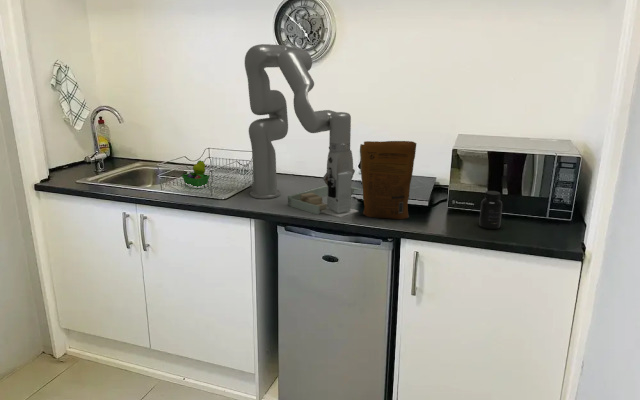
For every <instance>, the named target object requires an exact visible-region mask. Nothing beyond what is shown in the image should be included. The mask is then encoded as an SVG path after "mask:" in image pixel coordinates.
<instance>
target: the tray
mask: <svg viewBox="0 0 640 400" xmlns="http://www.w3.org/2000/svg"><path fill="white" fill-rule="evenodd" d="M361 189H362V188H358V187H354V186H351V195H352V193H353V192H354V190H361ZM327 190H328V186H327V184H326V185H323V186H319V187H315V188H312V189H308V190H305V191H301V192H297V193H293V194H288V195H287V205H288V207H292V208H294V209H298V210H302V211H305V212H307V213H311V214H314V215H320V214H321V212H320V206H317V205H313V204H310V203H307V202H303V201H300V200H301V194H306V193H314V194H316V195H318V196H320V197H322V198H324V197H327Z"/></svg>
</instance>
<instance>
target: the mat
mask: <svg viewBox="0 0 640 400" xmlns="http://www.w3.org/2000/svg"><path fill="white" fill-rule="evenodd" d="M320 213H323V214H327V215H329V216H333V217H336V218H339V219H341V218H344V217H348V216H350V215H352V214H355V213H359V210H358V209H354V208H350V211H345V212H340V213H337V212H335V211H334V210H332V209H330V208H328V207H327V209H325V210H322V211H320Z"/></svg>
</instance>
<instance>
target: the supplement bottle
mask: <svg viewBox="0 0 640 400" xmlns="http://www.w3.org/2000/svg"><path fill="white" fill-rule="evenodd" d="M479 211H480V212H479V220H478V221H479V223H478V225H479V227H481V228H483V229H486V230H497V229H499V228H500V227H501V222H502V221H501V220H502V213H503V202H502V201H501V192H499V191H496V190H487V191H485V193H484V199H482V200H481V202H480V210H479Z"/></svg>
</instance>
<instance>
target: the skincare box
mask: <svg viewBox="0 0 640 400" xmlns="http://www.w3.org/2000/svg"><path fill="white" fill-rule="evenodd" d="M332 178H333V177H332ZM352 179H353V178H352V173H351V172H349V171H348V172H344V173H341V174H338V180H336V184H335V186H334V187H336V197H335V198H332V197H329V196H328V190H327V196H326V197H327V198H326V204H327V209H328V208H330V209H332V210H334V211H335V212H337V213H340V212H345V211H350V208H351V206H352V205H351V202H352V197H351V187H352V181H353V180H352ZM331 182H333V180H332V181H331ZM351 209H352V208H351Z"/></svg>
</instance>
